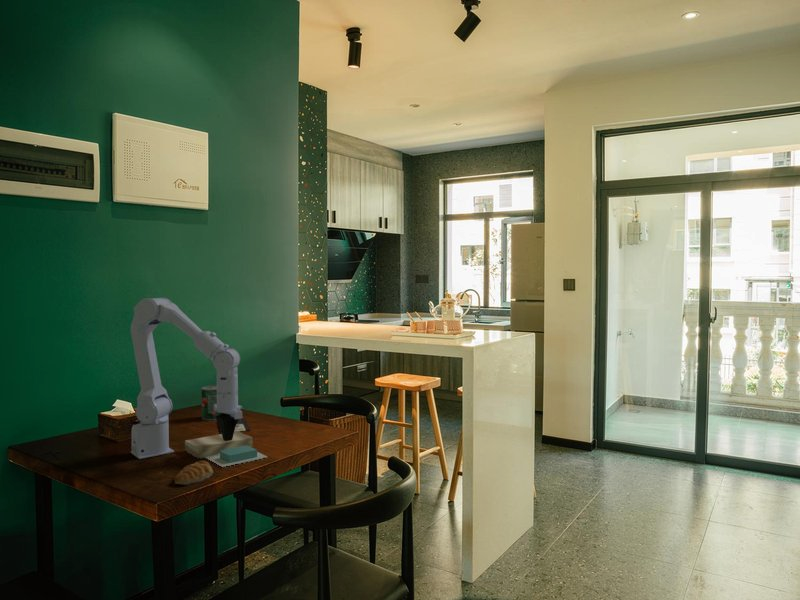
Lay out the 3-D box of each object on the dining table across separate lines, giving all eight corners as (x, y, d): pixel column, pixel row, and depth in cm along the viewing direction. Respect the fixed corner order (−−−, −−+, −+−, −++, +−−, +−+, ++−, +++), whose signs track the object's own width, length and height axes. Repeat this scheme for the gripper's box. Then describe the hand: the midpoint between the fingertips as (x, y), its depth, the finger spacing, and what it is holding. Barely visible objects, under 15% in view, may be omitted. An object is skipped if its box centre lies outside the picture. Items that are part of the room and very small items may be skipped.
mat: (222, 468, 146) (222, 466, 146) (204, 457, 155) (204, 456, 155) (267, 458, 155) (267, 456, 155) (248, 448, 164) (248, 447, 164)
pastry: (190, 488, 132) (189, 472, 132) (166, 485, 134) (166, 469, 134) (215, 476, 141) (215, 460, 141) (193, 473, 143) (193, 458, 143)
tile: (219, 450, 154) (219, 458, 154) (229, 455, 149) (229, 463, 149) (247, 445, 159) (247, 452, 159) (257, 449, 154) (257, 457, 154)
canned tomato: (229, 417, 204) (228, 387, 203) (209, 421, 198) (208, 390, 198) (217, 414, 209) (216, 384, 209) (197, 418, 203) (197, 387, 203)
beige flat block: (198, 458, 154) (198, 447, 154) (185, 450, 162) (185, 440, 162) (252, 447, 165) (252, 437, 165) (237, 440, 172) (237, 431, 172)
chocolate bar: (244, 417, 201) (249, 429, 184) (244, 420, 201) (249, 432, 184) (218, 420, 197) (221, 432, 181) (218, 422, 197) (221, 435, 181)
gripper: (252, 393, 156) (252, 442, 156) (229, 387, 167) (230, 432, 167) (228, 397, 151) (228, 447, 151) (206, 390, 162) (207, 436, 162)
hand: (227, 440), depth 159 cm, fingers closed
